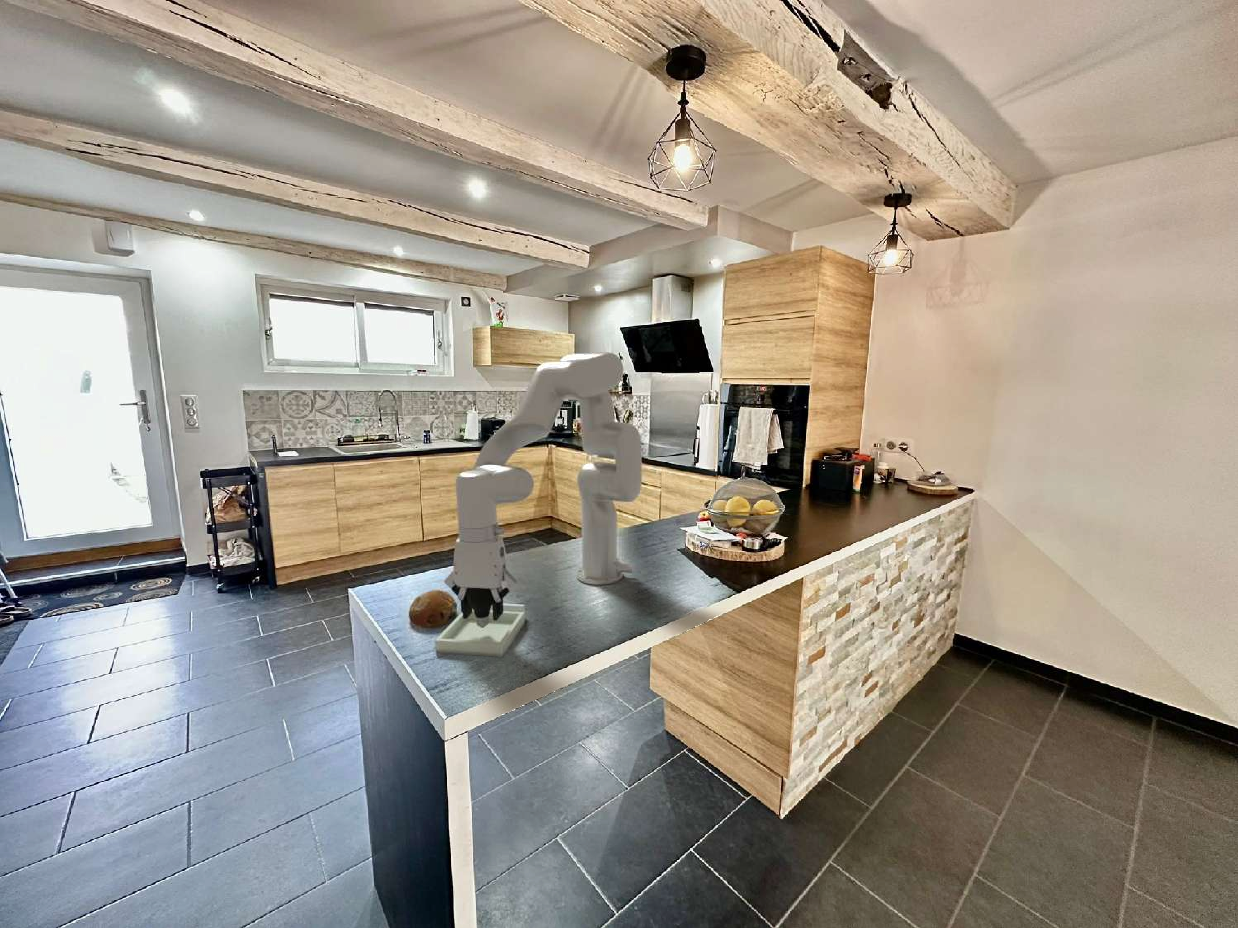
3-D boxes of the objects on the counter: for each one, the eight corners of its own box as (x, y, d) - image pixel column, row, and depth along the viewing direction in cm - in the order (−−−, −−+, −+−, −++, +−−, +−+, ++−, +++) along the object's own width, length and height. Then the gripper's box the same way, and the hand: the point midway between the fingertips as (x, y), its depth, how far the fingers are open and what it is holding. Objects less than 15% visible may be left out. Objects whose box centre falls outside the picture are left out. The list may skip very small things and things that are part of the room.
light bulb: (473, 637, 96) (471, 590, 95) (464, 625, 101) (461, 580, 99) (501, 628, 100) (500, 583, 98) (491, 617, 104) (489, 573, 103)
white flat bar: (524, 617, 109) (524, 604, 108) (523, 618, 108) (523, 606, 108) (465, 613, 111) (464, 601, 110) (463, 615, 110) (463, 602, 109)
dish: (524, 622, 106) (524, 612, 106) (502, 656, 93) (502, 644, 93) (465, 619, 108) (465, 608, 108) (435, 652, 95) (434, 640, 94)
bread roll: (447, 620, 115) (438, 588, 116) (469, 614, 109) (459, 580, 110) (407, 636, 108) (397, 602, 109) (428, 631, 101) (417, 594, 102)
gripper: (525, 528, 100) (528, 610, 103) (446, 525, 102) (451, 606, 105) (513, 539, 92) (517, 627, 95) (428, 536, 94) (434, 623, 97)
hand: (482, 615), depth 100 cm, fingers closed on light bulb, 5 cm apart
